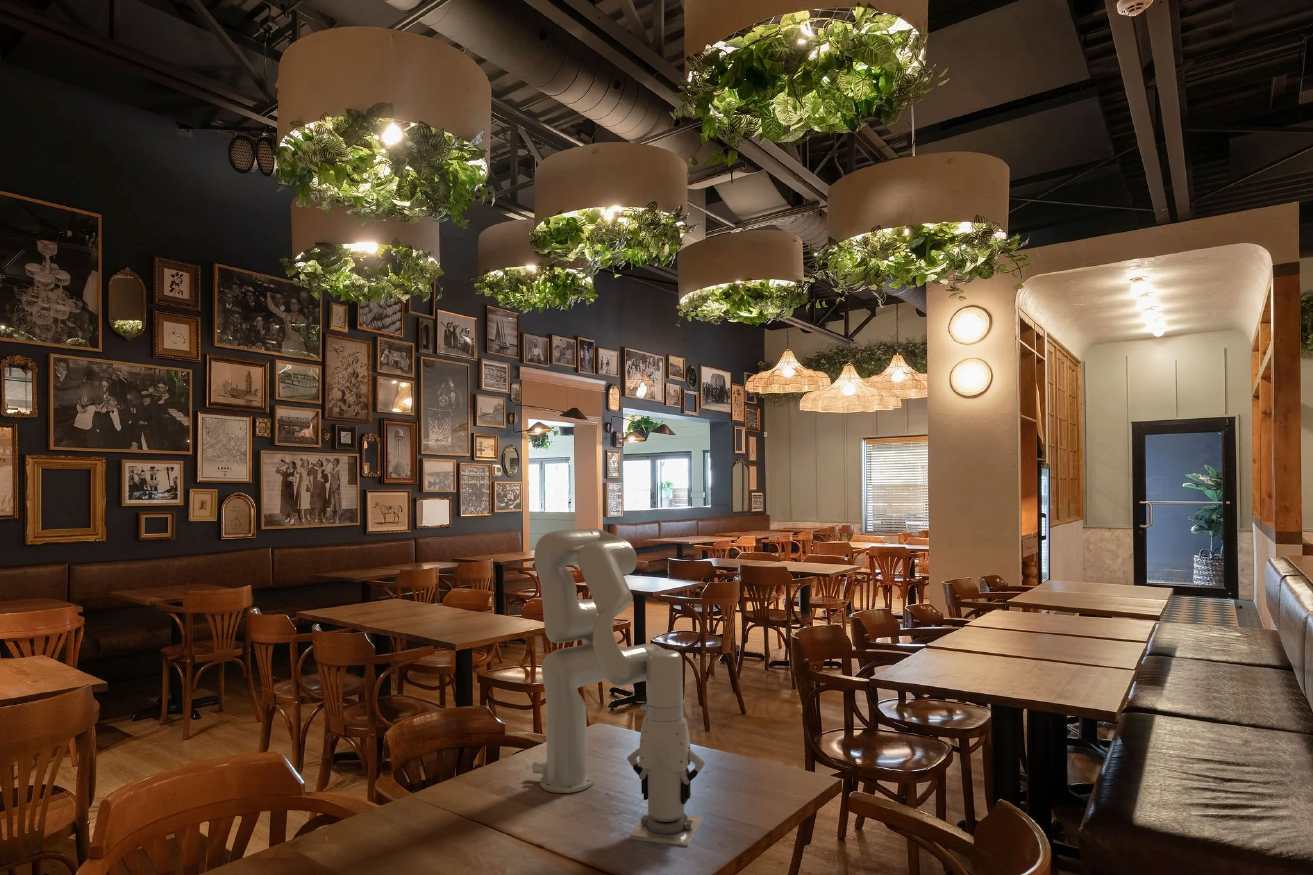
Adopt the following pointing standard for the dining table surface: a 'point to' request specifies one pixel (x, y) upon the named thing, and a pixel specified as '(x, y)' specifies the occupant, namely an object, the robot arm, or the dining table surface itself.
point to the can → (664, 793)
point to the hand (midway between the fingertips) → (666, 798)
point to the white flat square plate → (667, 830)
